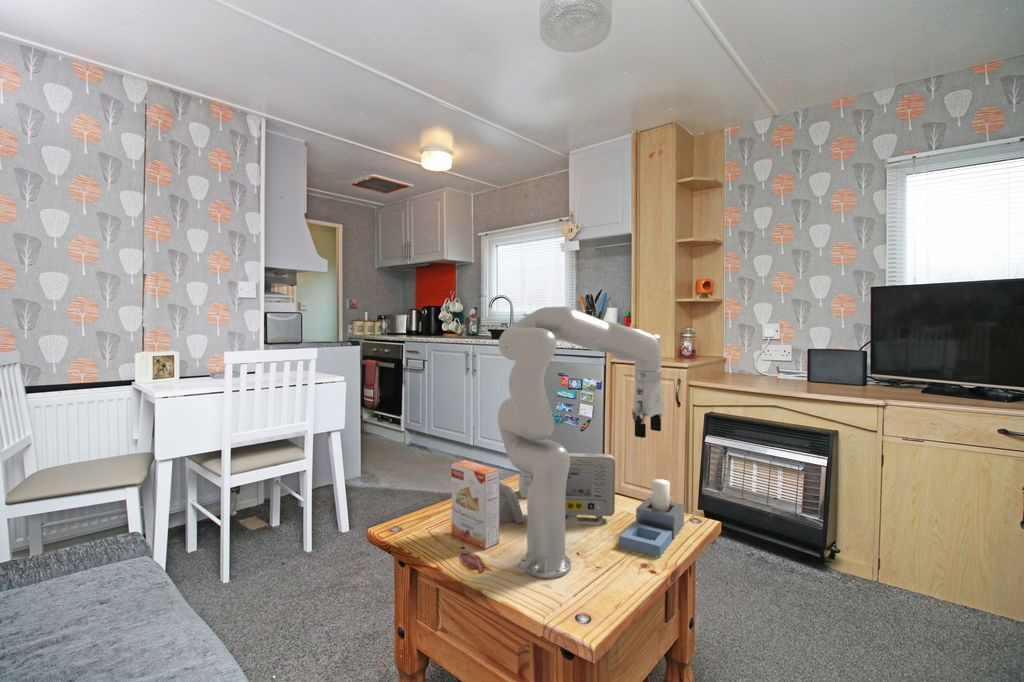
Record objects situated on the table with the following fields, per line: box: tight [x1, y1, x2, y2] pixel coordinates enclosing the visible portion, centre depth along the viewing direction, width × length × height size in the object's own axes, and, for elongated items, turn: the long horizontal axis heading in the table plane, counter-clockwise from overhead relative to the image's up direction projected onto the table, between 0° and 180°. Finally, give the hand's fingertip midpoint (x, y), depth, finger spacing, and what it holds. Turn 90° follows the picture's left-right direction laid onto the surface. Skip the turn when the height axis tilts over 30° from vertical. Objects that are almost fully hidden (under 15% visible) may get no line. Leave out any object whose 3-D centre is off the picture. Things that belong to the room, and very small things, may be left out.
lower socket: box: [619, 522, 673, 558], centre depth 136 cm, size 11×11×3 cm
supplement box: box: [518, 469, 531, 499], centre depth 175 cm, size 7×7×13 cm
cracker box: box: [451, 459, 500, 550], centre depth 138 cm, size 14×6×21 cm, turn 47°
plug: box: [651, 478, 671, 512], centre depth 147 cm, size 5×5×10 cm
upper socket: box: [635, 497, 685, 540], centre depth 147 cm, size 11×11×6 cm
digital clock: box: [499, 478, 525, 524], centre depth 155 cm, size 16×9×11 cm, turn 12°
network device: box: [531, 452, 616, 526], centre depth 154 cm, size 26×9×20 cm, turn 84°
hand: (648, 433), depth 146 cm, fingers open, 9 cm apart
